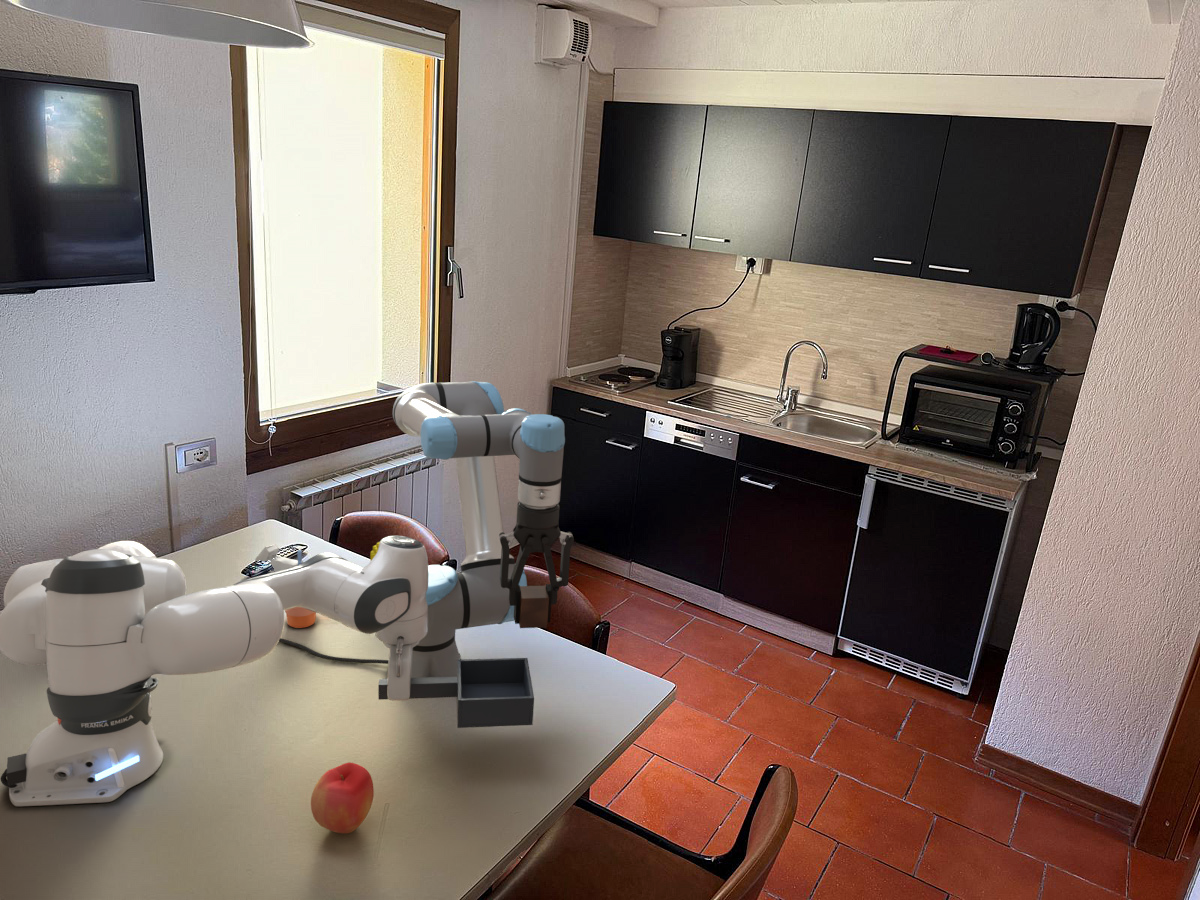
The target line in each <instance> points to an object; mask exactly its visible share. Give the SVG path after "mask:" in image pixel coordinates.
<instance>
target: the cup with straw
mask: <svg viewBox="0 0 1200 900" xmlns="http://www.w3.org/2000/svg"><path fill="white" fill-rule="evenodd" d="M296 553H297V560H298V565H300V564H302V561H303V553H302V550H301V549H298V550H297V551H296ZM284 613H285V615H286V623H287V625H288V626H290V627H292V628H296V629H301V628H302V629H303V628H307V627H310V626H312V625H314V624H315V622H316V619H317V613H316V612H313V611H310V610H308V609H305V608H302V607H294V608H291V609H288V610H284Z"/></svg>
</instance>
